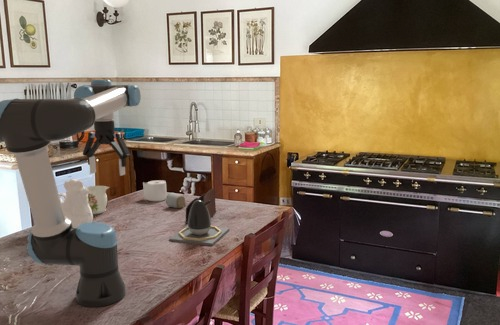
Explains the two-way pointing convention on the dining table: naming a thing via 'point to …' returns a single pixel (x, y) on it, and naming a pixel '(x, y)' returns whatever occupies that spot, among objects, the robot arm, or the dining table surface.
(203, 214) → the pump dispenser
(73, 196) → the decorative rooster
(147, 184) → the toilet tissue
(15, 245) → the dining table surface
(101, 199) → the pitcher
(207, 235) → the dock plate
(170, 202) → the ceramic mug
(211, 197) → the letter holder
